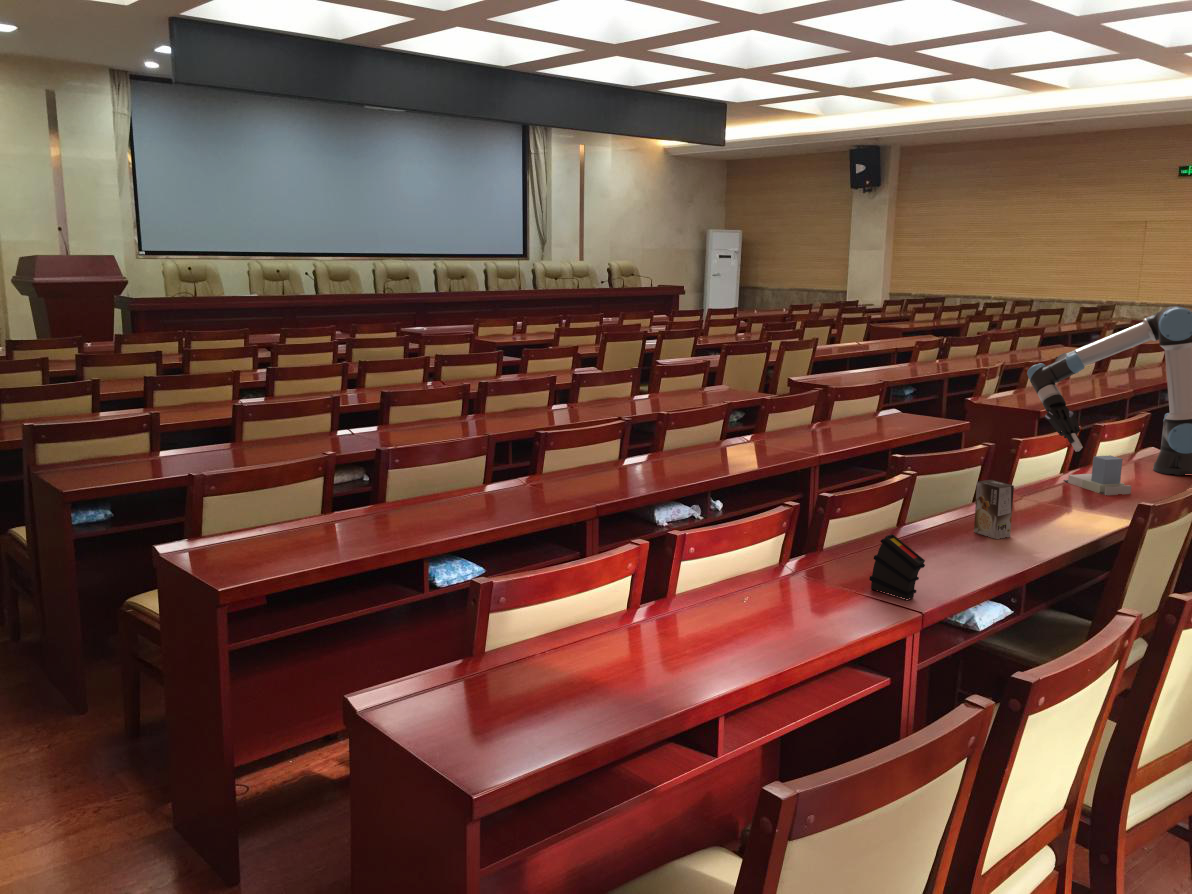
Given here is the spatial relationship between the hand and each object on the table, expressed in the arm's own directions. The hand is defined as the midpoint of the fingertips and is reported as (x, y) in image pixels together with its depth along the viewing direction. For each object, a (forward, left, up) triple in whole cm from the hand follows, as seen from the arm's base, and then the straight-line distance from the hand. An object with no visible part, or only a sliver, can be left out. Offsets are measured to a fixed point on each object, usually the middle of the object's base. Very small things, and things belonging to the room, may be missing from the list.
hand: (1079, 449), depth 358 cm
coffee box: (+72, +55, -12) cm, 92 cm away
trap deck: (0, +10, -12) cm, 16 cm away
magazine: (+127, +97, -12) cm, 161 cm away
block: (0, +15, -9) cm, 17 cm away
